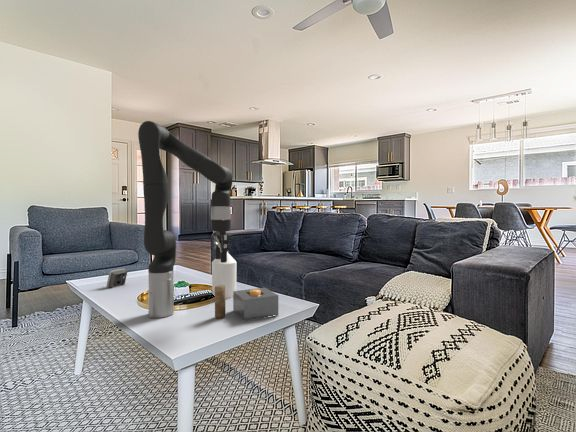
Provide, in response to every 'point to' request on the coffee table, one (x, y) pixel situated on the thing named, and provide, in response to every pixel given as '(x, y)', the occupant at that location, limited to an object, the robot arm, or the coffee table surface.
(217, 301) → the brown wooden block
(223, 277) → the bottle
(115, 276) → the electrical switch
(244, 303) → the box
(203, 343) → the coffee table surface
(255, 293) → the button
